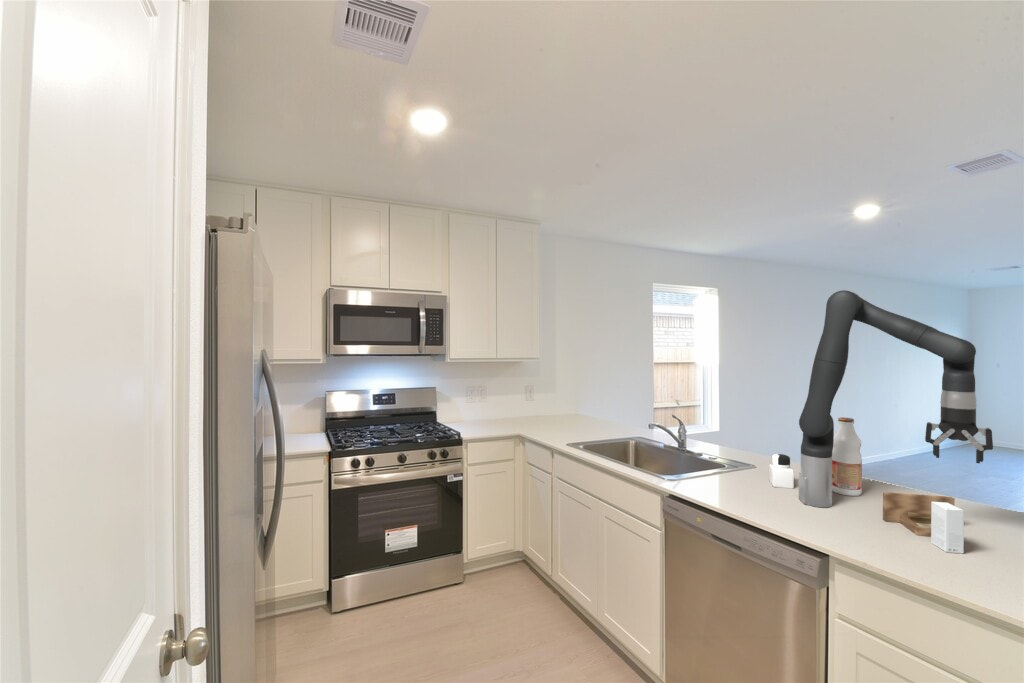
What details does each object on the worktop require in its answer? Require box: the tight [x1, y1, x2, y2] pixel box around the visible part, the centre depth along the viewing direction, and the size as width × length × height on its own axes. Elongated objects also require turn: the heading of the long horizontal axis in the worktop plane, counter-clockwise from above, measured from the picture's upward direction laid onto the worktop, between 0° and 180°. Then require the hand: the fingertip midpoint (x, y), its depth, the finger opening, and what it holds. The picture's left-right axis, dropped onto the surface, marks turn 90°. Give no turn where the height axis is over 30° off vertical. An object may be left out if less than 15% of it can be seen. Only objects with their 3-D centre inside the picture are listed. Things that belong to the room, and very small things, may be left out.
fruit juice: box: [832, 416, 863, 497], centre depth 169 cm, size 9×9×28 cm
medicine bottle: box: [768, 453, 795, 490], centre depth 177 cm, size 7×7×12 cm
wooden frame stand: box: [882, 491, 956, 538], centre depth 136 cm, size 18×11×9 cm, turn 75°
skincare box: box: [930, 502, 965, 555], centre depth 125 cm, size 6×4×12 cm
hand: (957, 460), depth 133 cm, fingers open, 8 cm apart
